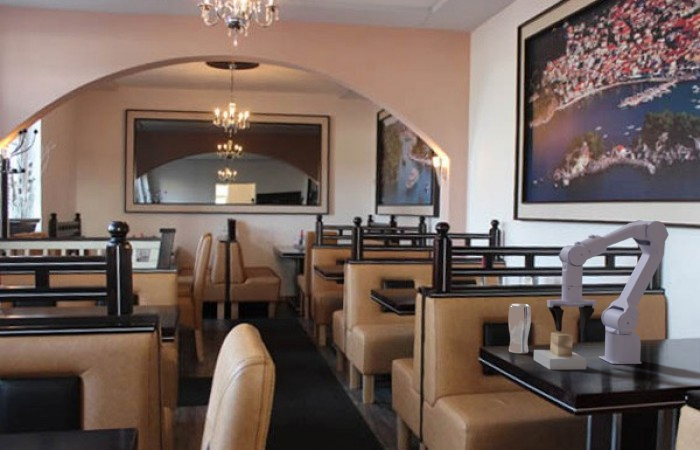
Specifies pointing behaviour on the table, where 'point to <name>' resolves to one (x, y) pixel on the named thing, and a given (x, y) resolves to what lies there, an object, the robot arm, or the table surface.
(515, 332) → the beer glass
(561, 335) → the beech block
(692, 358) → the table surface
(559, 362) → the ceramic box
